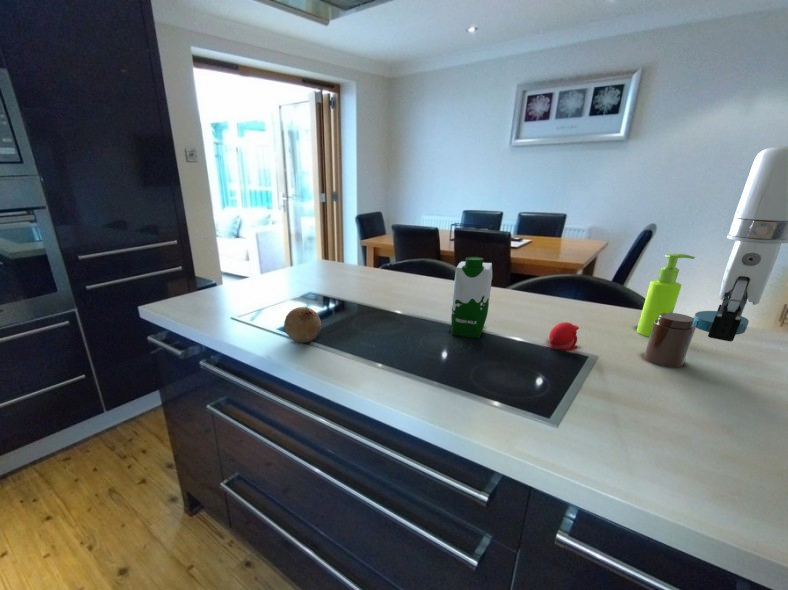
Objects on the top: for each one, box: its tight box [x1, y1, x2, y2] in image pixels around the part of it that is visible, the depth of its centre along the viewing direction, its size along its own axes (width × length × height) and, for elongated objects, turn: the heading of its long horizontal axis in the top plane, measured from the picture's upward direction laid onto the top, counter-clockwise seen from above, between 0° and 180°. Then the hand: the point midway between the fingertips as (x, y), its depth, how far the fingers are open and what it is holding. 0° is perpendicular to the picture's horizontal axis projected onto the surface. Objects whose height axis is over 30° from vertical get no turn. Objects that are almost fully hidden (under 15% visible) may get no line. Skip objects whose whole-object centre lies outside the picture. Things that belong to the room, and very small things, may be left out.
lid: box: [692, 310, 750, 336], centre depth 69 cm, size 7×7×2 cm
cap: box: [548, 321, 580, 352], centre depth 91 cm, size 8×6×6 cm
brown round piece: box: [283, 306, 322, 344], centre depth 100 cm, size 10×9×10 cm
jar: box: [643, 312, 697, 368], centre depth 81 cm, size 7×7×11 cm
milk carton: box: [450, 256, 493, 339], centre depth 99 cm, size 9×9×20 cm
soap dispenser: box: [636, 253, 696, 338], centre depth 95 cm, size 6×7×20 cm
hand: (722, 332), depth 69 cm, fingers closed on lid, 7 cm apart
